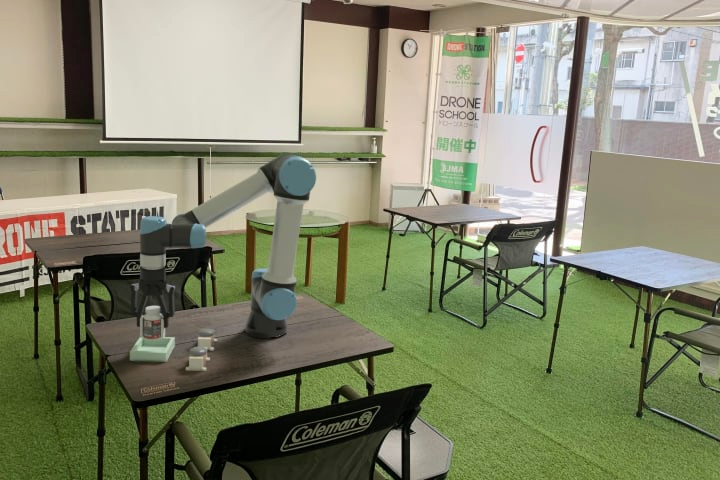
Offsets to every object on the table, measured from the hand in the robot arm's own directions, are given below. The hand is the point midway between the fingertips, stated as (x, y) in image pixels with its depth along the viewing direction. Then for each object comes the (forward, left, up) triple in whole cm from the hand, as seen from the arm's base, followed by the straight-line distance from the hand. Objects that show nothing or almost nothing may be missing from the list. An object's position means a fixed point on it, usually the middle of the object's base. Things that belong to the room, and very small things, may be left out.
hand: (152, 336), depth 199 cm
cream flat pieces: (-16, 0, -6) cm, 17 cm away
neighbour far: (-16, -8, -6) cm, 18 cm away
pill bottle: (0, 0, -1) cm, 1 cm away
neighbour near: (-16, +8, -6) cm, 18 cm away
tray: (0, 0, -6) cm, 6 cm away
